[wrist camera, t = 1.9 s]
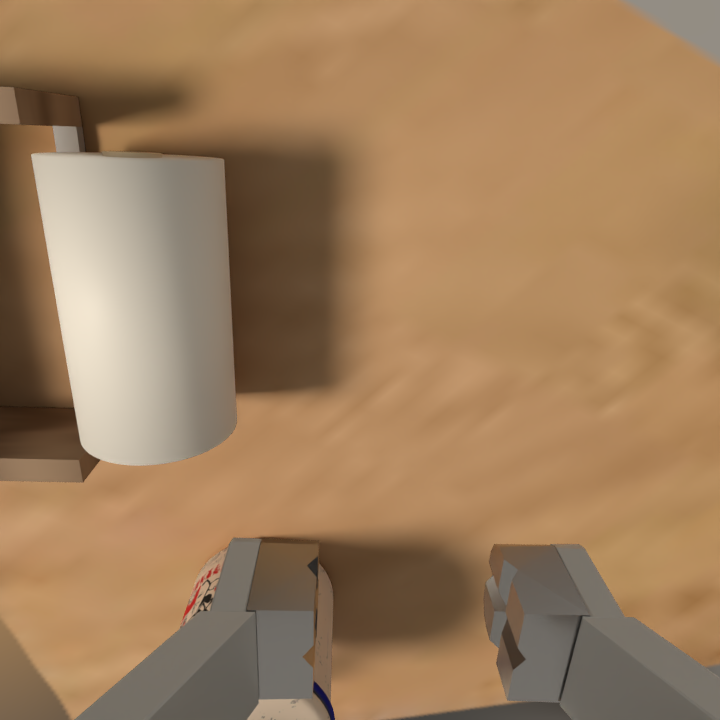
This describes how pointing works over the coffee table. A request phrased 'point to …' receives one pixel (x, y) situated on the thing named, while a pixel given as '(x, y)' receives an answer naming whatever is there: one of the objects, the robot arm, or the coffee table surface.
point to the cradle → (33, 424)
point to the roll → (142, 299)
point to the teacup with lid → (317, 713)
